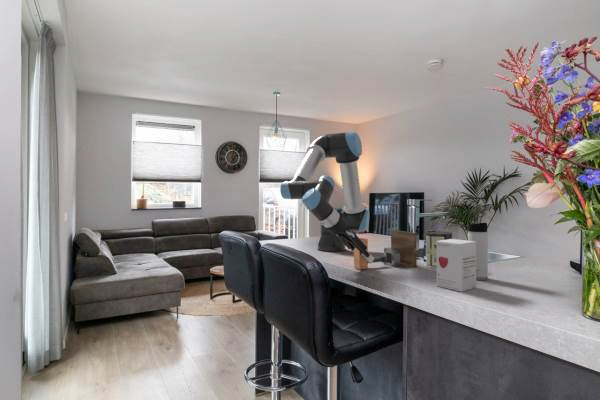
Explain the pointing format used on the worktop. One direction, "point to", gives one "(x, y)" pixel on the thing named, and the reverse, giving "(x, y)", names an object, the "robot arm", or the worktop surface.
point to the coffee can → (434, 246)
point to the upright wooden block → (361, 261)
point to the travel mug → (480, 248)
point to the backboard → (405, 247)
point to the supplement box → (456, 264)
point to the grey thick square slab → (392, 257)
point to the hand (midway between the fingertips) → (368, 260)
